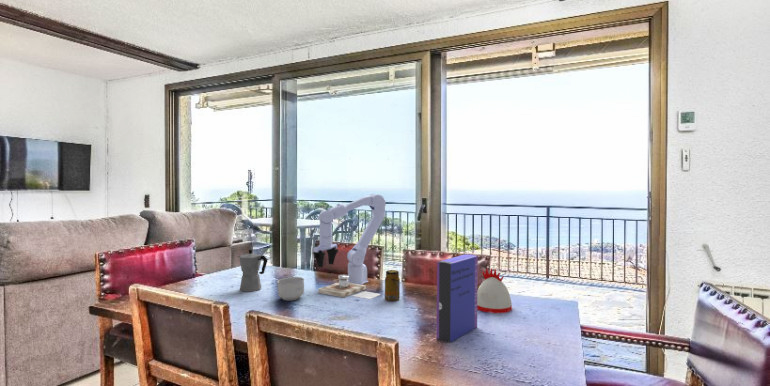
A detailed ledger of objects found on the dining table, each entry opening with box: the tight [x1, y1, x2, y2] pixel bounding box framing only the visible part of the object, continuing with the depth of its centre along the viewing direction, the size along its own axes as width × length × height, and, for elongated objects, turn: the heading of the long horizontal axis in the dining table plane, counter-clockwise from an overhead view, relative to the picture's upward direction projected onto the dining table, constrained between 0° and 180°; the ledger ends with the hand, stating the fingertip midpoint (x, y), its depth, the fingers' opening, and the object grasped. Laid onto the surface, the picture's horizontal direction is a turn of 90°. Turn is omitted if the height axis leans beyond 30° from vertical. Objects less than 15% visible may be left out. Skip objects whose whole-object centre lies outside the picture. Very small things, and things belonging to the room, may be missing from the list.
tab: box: [352, 290, 382, 300], centre depth 175 cm, size 9×9×1 cm
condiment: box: [384, 269, 401, 302], centre depth 168 cm, size 7×8×12 cm
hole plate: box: [317, 281, 367, 298], centre depth 182 cm, size 16×14×2 cm
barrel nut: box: [337, 274, 349, 289], centre depth 181 cm, size 5×5×7 cm
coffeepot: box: [237, 249, 268, 293], centre depth 185 cm, size 15×9×18 cm, turn 70°
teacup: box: [276, 276, 305, 302], centre depth 172 cm, size 14×11×8 cm
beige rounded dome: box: [477, 268, 513, 314], centre depth 159 cm, size 14×14×15 cm
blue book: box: [436, 254, 479, 344], centre depth 132 cm, size 17×5×24 cm, turn 141°
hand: (325, 265), depth 192 cm, fingers open, 7 cm apart
